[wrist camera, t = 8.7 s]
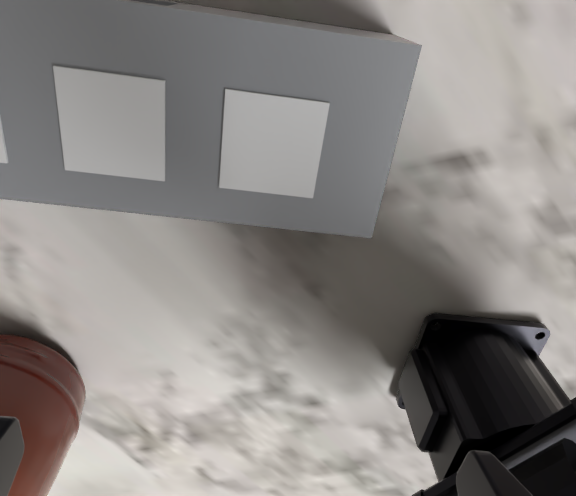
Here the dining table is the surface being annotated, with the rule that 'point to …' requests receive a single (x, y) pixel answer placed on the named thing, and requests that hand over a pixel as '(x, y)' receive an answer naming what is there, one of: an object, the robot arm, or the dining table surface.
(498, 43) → the dining table surface
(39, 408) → the mug
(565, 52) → the dining table surface
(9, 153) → the power strip
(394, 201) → the dining table surface
